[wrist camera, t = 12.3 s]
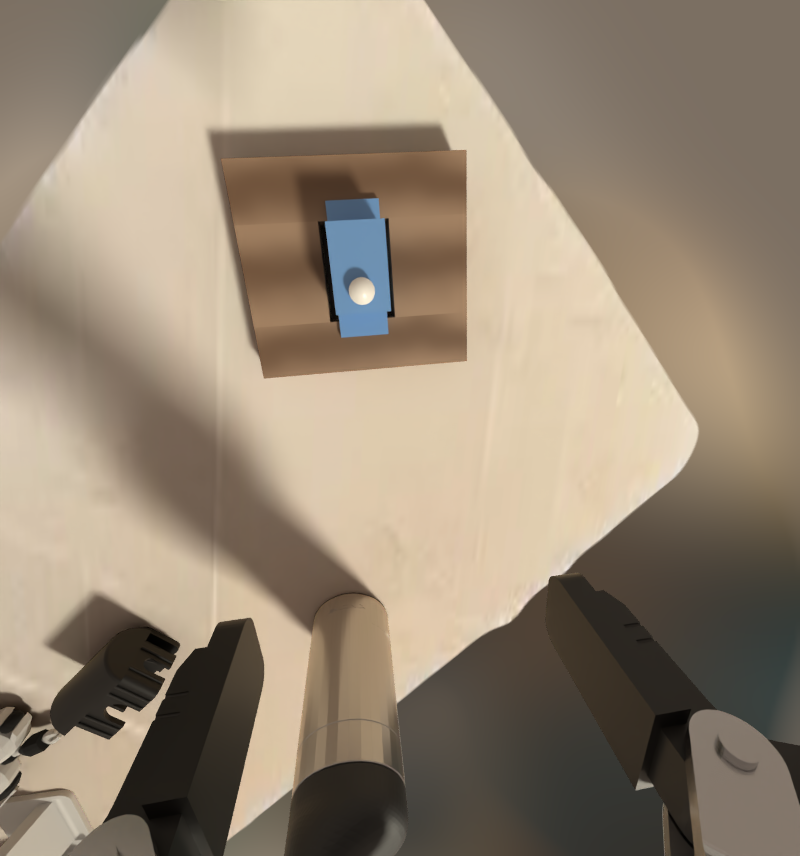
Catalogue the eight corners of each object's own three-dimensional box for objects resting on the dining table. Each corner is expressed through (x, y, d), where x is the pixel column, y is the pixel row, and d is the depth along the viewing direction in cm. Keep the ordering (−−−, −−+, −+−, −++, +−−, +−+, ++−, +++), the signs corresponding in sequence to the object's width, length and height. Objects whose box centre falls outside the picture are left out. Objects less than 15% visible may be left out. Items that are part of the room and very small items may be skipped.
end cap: (130, 612, 42) (91, 668, 36) (185, 641, 44) (156, 699, 38) (80, 663, 44) (33, 725, 37) (134, 688, 46) (99, 751, 40)
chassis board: (458, 355, 36) (466, 360, 33) (271, 371, 35) (263, 378, 32) (456, 163, 31) (466, 149, 28) (233, 171, 29) (220, 158, 26)
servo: (328, 210, 31) (319, 182, 23) (376, 208, 31) (383, 180, 23) (342, 333, 34) (339, 344, 27) (385, 330, 35) (394, 340, 27)
